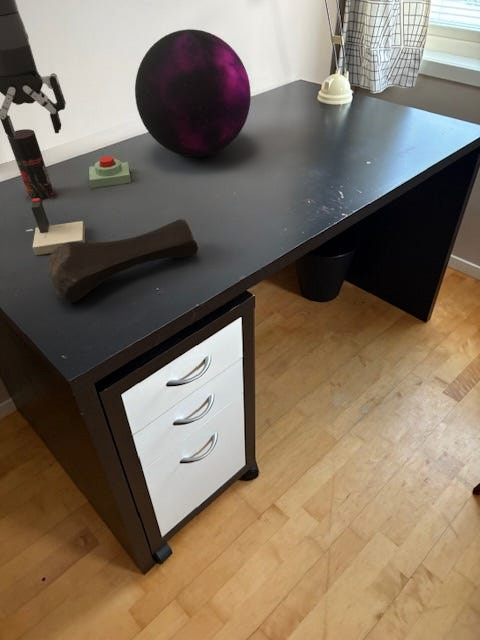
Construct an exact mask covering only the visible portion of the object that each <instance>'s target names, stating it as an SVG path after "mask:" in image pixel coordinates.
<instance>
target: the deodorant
mask: <svg viewBox="0 0 480 640" xmlns="http://www.w3.org/2000/svg"><path fill="white" fill-rule="evenodd" d="M15 134H16V135H15V138H10V135H7V140H8V142H9V146H10V149H11V150H12V154H13V157H14V159H15V162H16V165H17V168H18V170H19V173H20V176H21V179H22V180H23V183H24V187H25V190H26V191H27V195H28V197H29V199H30V200H32V201H33V199H36V198H40V199H41V201H43V200H46V199H49V198H51V197H52V196H53V195H54V193H55V192H54V188H53V185H52V182H51V179H50V175H49V172H48V170H47V167H46V166H47V165H46V163H45V161H44V157H43V154H42V151H41V148H40V145H39V142H38V139H37V135H36V133H35V130H33V129H30V128H29V129H28V128H27V129H24V128H23V129H17V130H15Z"/></svg>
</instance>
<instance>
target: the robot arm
mask: <svg viewBox="0 0 480 640" xmlns="http://www.w3.org/2000/svg"><path fill="white" fill-rule="evenodd" d="M29 39H30V38H29V34H28V32H27V30H26V26H25V24H24V22H23V19H22V16H21V14H20V11H19V8H18V4H17V1H16V0H0V93H1V94H2V96H4V100H3V102H2V105H1V108H0V122H1V125H2V127H3V130H4V132H5V134H6V135H7V136H8V135H10V138H15V135H16V134H15V131H16V130H15V128H14V125H13V122H12V118H11V117H10V115H8V113H9V110H10V107H11V105H12V104H15V105H16V106H20V105H23V104H29V105H30V104H31V105H32V104H34V103H35V102H36V103H38V104H39V105H40V106H41V107H43V108H44V109H46V110H47V111H48V112H49V117H50V121H51V124H52V127H53V131H54V134H59V133H60V131H61V130H62V122H61V119H60V114H59V112H60V111H64V110H65V109H66V103H67V102H66V100H65V97H64V94H63V91H62V90H63V89H62V87H61V84H60V82H59V78H58V75H57V74H56V73H50V75H45V76H41V74H40V73H39V71H38V68H37V65H36V61H35V58H34V55H33V51H32V48H31V43H30V40H29ZM43 85H46V86H47V88H48V89H50V90H52V93H53V95H54V98H55V102H54V101H52V100H51V99H50V98H49V97H48V95H47V94H46V93H44V91H42V88H43Z"/></svg>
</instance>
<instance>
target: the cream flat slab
mask: <svg viewBox="0 0 480 640" xmlns="http://www.w3.org/2000/svg"><path fill="white" fill-rule="evenodd" d="M33 231H34V229H31V228H30V229H26V230H25V232H26V233H27V232H33ZM67 242H86V226H85V223H84V220H80V221H73V222H66V223H59V224H51V225H49V229H48V232H44V233H40V230H39V228H38V227H35V231H34V237H33V243H32V250H33V253H34V255H35V256H41V255H46V254H47V255H48V254H52V253H53V252H54V250H55V249H57V248H58V247H59V246H61V245H62V244H64V243H67Z"/></svg>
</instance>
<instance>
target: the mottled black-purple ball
mask: <svg viewBox="0 0 480 640" xmlns="http://www.w3.org/2000/svg"><path fill="white" fill-rule="evenodd" d="M135 76H136V77H135V85H134V97H135V98H134V99H135V104H136V109H137V112H138V115H139V117H140V120H141V122H142V124H143V125H144V127H145V129H146V131H147V132H148V133H149V135H150V136H151V137H152V139H154V140H155V141H156V142H157V143H158V144H159V145H161V146H162V147H163V148H165V149H166V150H168V151H170V152H172V153H175V154H177V155H180V156H184V157H191V158H198V157H199V158H201V157H206V156H211V155H214V154H217V153H218V152H221V151H222V150H224V149H225V148H226V147H228V146H229V145H230V144H232V142H234V141H235V139H236V138H237V137H238V136H239V135H240V133H241V132H242V131H243V128H244V127H245V124H246V122H247V119H248V116H249V112H250V107H251V98H252V97H251V96H252V92H251V84H250V83H251V82H250V79H249V75H248V72H247V69H246V67H245V65H244V63H243V60H242V59H241V57H240V56H239V54H238V53H237V52H236V51H235V49H233V48H232V46H231V45H230V44H228V42H226V41H225V40H223V38H221V37H220V36H218V35H215V34H213V33H211V32H208V31H204V30H201V29H193V28H191V29H190V28H188V29H180V30H176V31H173V32H170V33H168V34H166V35H164V36H163V37H161V38H160V39H158V40H157V41H156V42H154V43H153V45H152V46H150V48H149V49H148V50H147V51H146V53H145V55H144V56H143V57H142V60H141V62H140V64H139V66H138V69H137V73H136V75H135Z"/></svg>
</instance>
